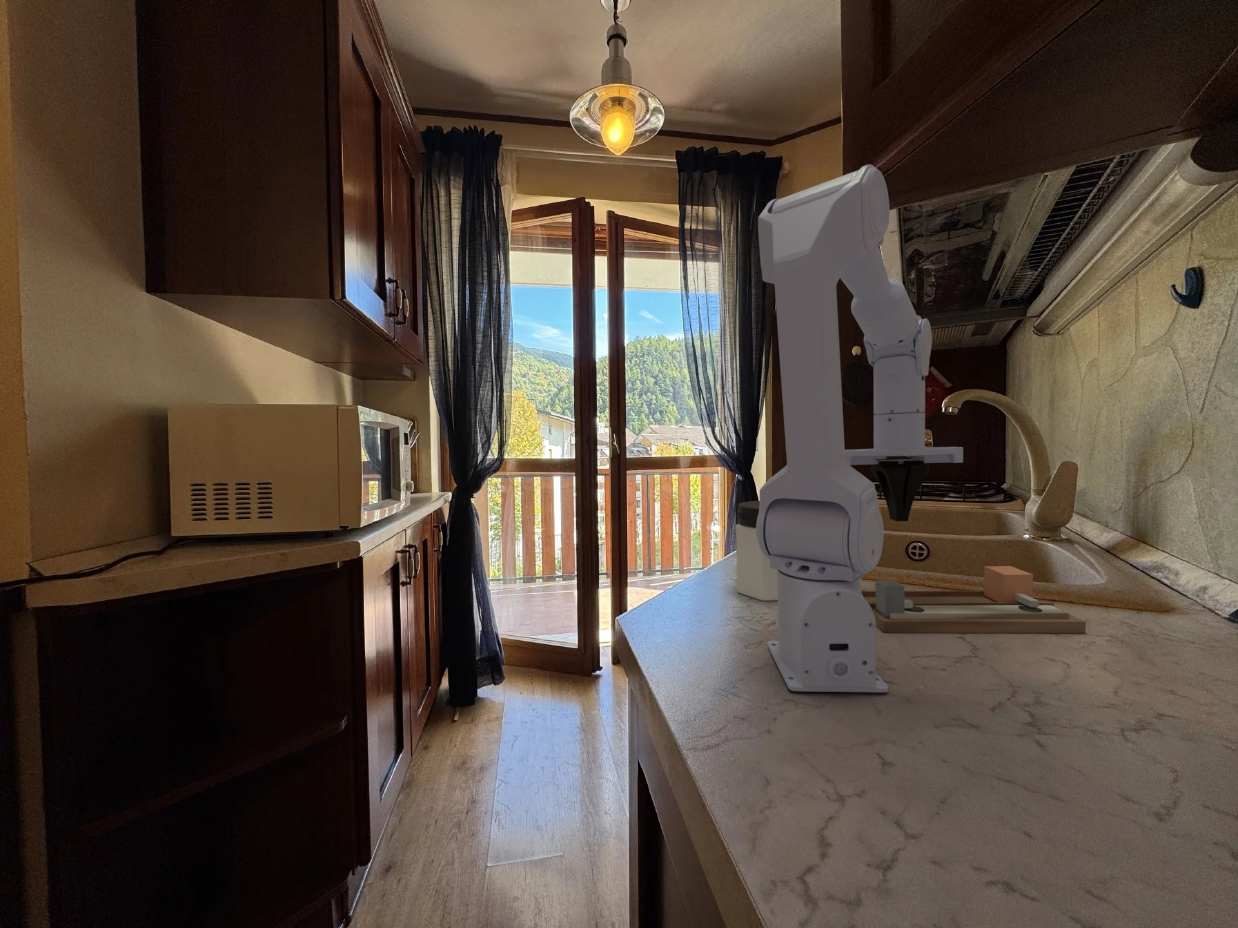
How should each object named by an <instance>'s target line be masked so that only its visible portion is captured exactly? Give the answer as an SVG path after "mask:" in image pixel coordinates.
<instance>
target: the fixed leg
mask: <svg viewBox="0 0 1238 928" xmlns="http://www.w3.org/2000/svg"><path fill="white" fill-rule="evenodd" d="M875 591H876V611H877V612H878V613H879V614H880V615H881V616H883V617H884V618H885V619H890V613H904V608H913V602H912V601H911V600H904V591H905V586H904V585H903V584H901V583H899V582H898V581H896V580H893V579H892V580H889V579H888V580H887V579H886V580H884V579H883V580H882V579H881V580H877V579H876V580H875Z"/></svg>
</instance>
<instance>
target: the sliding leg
mask: <svg viewBox="0 0 1238 928" xmlns="http://www.w3.org/2000/svg"><path fill="white" fill-rule="evenodd" d="M983 568H984V569H983V572H984V573H983V574H984V575H983V582H984V583H983V591H984V595H985V596H987V597H989V598H991V599H993V600H995V601H997V602H1021V603H1023V604H1025V605H1027V606H1029V607H1039V600H1038V599H1035V598H1034V597H1033V594H1034V590H1033V589H1034V587H1033V586H1034V574H1033V573H1031V572H1030V573H1029V572H1028V571H1024V570H1022V569H1019V568H1017V567H1014V566H1011V565H1006V566H1005V565H1003V566H1002V565H1000V566H997V565H994V566H989V565H988V566H983Z"/></svg>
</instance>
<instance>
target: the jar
mask: <svg viewBox="0 0 1238 928" xmlns="http://www.w3.org/2000/svg"><path fill="white" fill-rule="evenodd" d="M759 505H760V500H752V501H751V500H750V501H745V502H740V503H738V505H737V512H736V513H737V514H736V515H737V524H735V538H736V540H735V543H736V544H735V545H736V550H735V551H736V591H737V593H738V594H741V595H744V596H746V597H750V598H753V599H756V600H759V601H762V602H770V601H778V585H777V569H773V568H770V559H769V558H767V557H766V556H765V555H764V554H763V552H762V551H761V548H760V546H759V544H758V541H757V535H756V524H757V517H758V514H759Z"/></svg>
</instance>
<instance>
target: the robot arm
mask: <svg viewBox="0 0 1238 928" xmlns="http://www.w3.org/2000/svg"><path fill="white" fill-rule="evenodd" d="M887 186H888V185H887V183H886V180H885V178H884V175H883V173H882V171H880V170H879V169H877V168H876V166H874V165H873V164H866V165H863V166H861V167H860V169H858V170H855V171H853V172H849V173H846V174H845V175H841V176H838V177H836V178H833V179H831V180H828V181H825V182H821V183H819V184H817V185H814V186H812V187H808V188H806V189H804V190H801V191H798V192H795V193H793V194H790V195H788V196H784V197H782V198H774V199H771V200H770V201H769V202H768V203H767V204H766V205H765V207H764V209H763V210H762V212H761V213H760V214H759V216H758V218H757V224H758V225H757V230H758V231H757V232H758V244H759V245H758V247H759V259H760V269H761V275H762V281H763V282H765V283H769V284H773V285H774V293H775V294H774V295H775V296H774V297H775V309H776V323H777V338H778V351H779V368H780V380H781V381H780V382H781V384H780V385H781V394H782V395H781V396H782V407H783V408H782V411H783V421H784V422H783V424H784V439H785V441H784V442H785V452H786V453H785V454H786V465H785V466H784V467H783V468H781V469H780V470H779V471H777V473H775V474H774V475H773V476H771V477H770V478H769V479H768V480H767V481H765V482H764V484H763V485H762V486H761V487H760V489H759V501H760V505H759V514H758V517H757V524H756V535H757V541H758V544H759V546H760V548H761V551H762V552H763V554H764V555H765V556H766V557H767V558H769V559H770V568H773V569H777V585H778V600H777V638H778V639H777V640H768V641H766V642H767V648H768V650H769V652H770V654H771V656H772V658H773V660H774V662H775V664H776V666H777V668H778V670H779V672H780V674H781V676H782V678H783V680H784V682H785V684H786V686H787V689H789V690H790V691H792V692H822V693H823V692H824V693H825V692H827V693H829V692H831V693H833V692H834V693H837V692H838V693H887V692H888V691H889V687H888V684H887V683H885V681H884V680H883V679H882V678H881V677H880V676H879V674H878V673H877V667H876V666H877V642H876V641H877V634H876V633H877V628H876V627H877V626H876V621H875V616H874V613H873V611H872V609H871V607H870V606H869V604H868V603H867V602H866V600H865V599H864V597H863V595H862V592H861V591H862V575H866V574H869V573H870V572H871V571H872V570H874V568H876V567H877V565H878V563H879V562H880V559H881V556H882V552H883V547H884V530H885V529H884V521H883V517H882V513H881V511H880V508H879V507H880V506H879V500H878V492H877V490H876V485H875V483H873V482H872V481H871V480H870V479H869V478H867V477H866V476H864V475H863V474H862V473H861V472H859V471H857V470H856V469H855V468H854V467H852V466H857V465H858V466H860V465H870V470H871V473H872V474H873V476H874V477H875V480H876V481H877V483H878V485H879V487H880V489H881V491H882V495H883V497H884V500H885V503H886V507H887V510H888V516H889V519H890V520H892V521H895V522H908V521H909V518H910V517H909V516H910V514H911V511H912V506H913V503H914V500H915V498H916V495H917V493H918V491H919V489H920V487H921V485H922V483H923V481H924V480H925V479H926V477H927V476H928V475H929V472H930V465H927V463H928V464H934V463H935V464H936V463H938V464H939V463H941V464H943V463H954V464H957V463H964V447H961V446H959V447H958V446H941V447H940V446H938V447H937V446H933V447H929V446H928V447H927V446H926V376H929V370H930V369H929V368H930V366H929V365H930V357H931V351H932V346H933V345H932V344H933V343H932V342H933V336H932V335H933V334H932V327H931V324H930V321H929V319H928V318H924V319H923V318H922V316H921V315H917V312H916V310H915V309H914V306H913V304H912V301H911V300H910V297H909V295H908V293H907V290H906V288H905V285H904V284H903V282H901V281H900V280H898V279H896V278H894V277H889V276H888V273H887V270H886V266H885V263H884V259H883V257H882V256H883V255H882V253H881V250H880V249H881V248H880V246H882V245H883V244H884V239H885V235H886V233H887V231H888V227H889V224H890V198H889V193H888V187H887ZM839 280H841V281H842V282H843V284H844V285H845V286H846V288H847V290H849V292H850V293H851V294H852V296H853V298H852V300H851V303H850V304H851V306H850V309H851V313H852V316H853V318H854V320H856V321H855V322H857V324H858V326H859V327H860V330H861V331H862V333H863V335H864V337H863V344H864V347H865V351H866V352H865V353H866V357H867V360H868V361H867V362H868V364H869V365H870V366H872V367H873V448H861V449H860V448H859V449H856V448H855V449H845V431H844V413H843V391H842V372H841V370H842V369H841V352H840V351H841V350H840V336H839V335H840V333H839V315H838V314H839V313H838V297H837V296H838V295H837V284H838V282H839ZM887 457H910V458H911V459H910V458H909V459H908V458H907V459H906V458H903V459H887Z"/></svg>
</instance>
